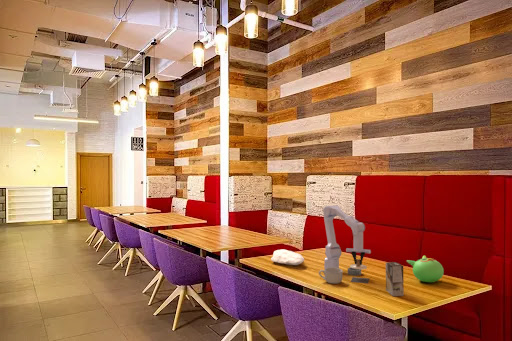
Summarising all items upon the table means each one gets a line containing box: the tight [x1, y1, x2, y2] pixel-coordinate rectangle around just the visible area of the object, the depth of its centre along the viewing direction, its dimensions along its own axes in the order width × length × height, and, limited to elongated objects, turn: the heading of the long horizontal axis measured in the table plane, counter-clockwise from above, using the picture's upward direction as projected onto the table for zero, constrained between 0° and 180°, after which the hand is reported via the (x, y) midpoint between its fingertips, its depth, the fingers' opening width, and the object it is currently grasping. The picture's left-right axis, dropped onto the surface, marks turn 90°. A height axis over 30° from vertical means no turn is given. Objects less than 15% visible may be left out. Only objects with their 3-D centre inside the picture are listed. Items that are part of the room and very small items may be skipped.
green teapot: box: [406, 255, 445, 283], centre depth 225 cm, size 18×17×15 cm
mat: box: [350, 276, 370, 284], centre depth 227 cm, size 10×11×1 cm
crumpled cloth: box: [270, 248, 305, 266], centre depth 273 cm, size 24×35×9 cm
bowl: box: [347, 267, 362, 277], centre depth 242 cm, size 8×8×4 cm
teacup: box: [318, 267, 343, 285], centre depth 223 cm, size 14×11×8 cm
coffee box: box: [385, 261, 405, 297], centre depth 203 cm, size 9×6×16 cm
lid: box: [349, 258, 368, 270], centre depth 230 cm, size 10×10×5 cm
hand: (358, 264), depth 230 cm, fingers closed on lid, 3 cm apart
